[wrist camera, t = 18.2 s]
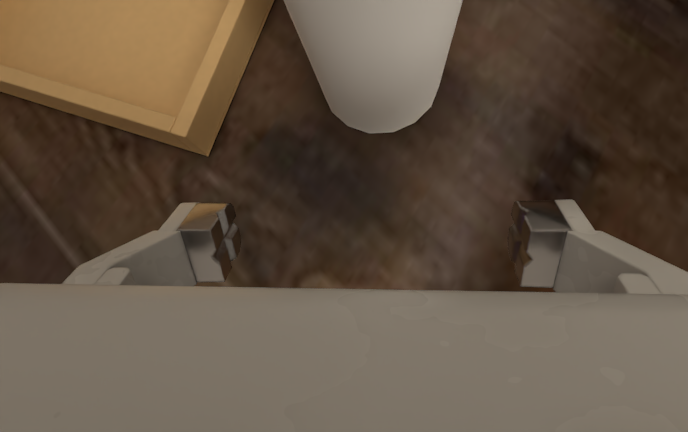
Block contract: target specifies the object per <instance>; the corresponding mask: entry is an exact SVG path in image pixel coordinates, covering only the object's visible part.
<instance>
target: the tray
mask: <svg viewBox="0 0 688 432" xmlns="http://www.w3.org/2000/svg"><path fill="white" fill-rule="evenodd" d="M273 2H274V0H0V92H3V93H6V94H10V95H13V96H16V97H19V98H22V99H26V100H29V101H32V102H35V103H38V104H42V105H45V106H48V107H51V108H54V109H58V110H61V111H64V112H67V113H70V114H74V115H77V116H80V117H83V118H86V119H90V120H93V121H96V122H99V123H102V124H106V125H109V126H112V127H115V128H118V129H121V130H125V131H128V132H131V133H134V134H137V135H141V136H144V137H147V138H150V139H153V140H157V141H160V142H163V143H166V144H169V145H173V146H176V147H179V148H182V149H185V150H189V151H192V152H195V153H198V154H201V155H205V156H209V153H210V151H211V149H212V146H213V144H214V142H215V139H216V137H217V135H218V132H219V130H220V127H221V125H222V123H223V120H224V118H225V116H226V113H227V111H228V109H229V106H230V104H231V102H232V99H233V97H234V94H235V92H236V90H237V87H238V85H239V83H240V80H241V78H242V76H243V73H244V71H245V68H246V66H247V64H248V61H249V59H250V57H251V54H252V52H253V50H254V47H255V45H256V42H257V40H258V38H259V35H260V33H261V31H262V28H263V26H264V24H265V21H266V19H267V17H268V14H269V12H270V9H271V7H272V5H273Z"/></svg>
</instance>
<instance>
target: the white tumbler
mask: <svg viewBox="0 0 688 432" xmlns="http://www.w3.org/2000/svg"><path fill="white" fill-rule="evenodd" d="M462 1H463V0H284V3H285V5H286V7H287V10H288V12H289V14H290V17H291V19H292V21H293V24H294V26H295V28H296V31H297V33H298V35H299V38H300V40H301V42H302V45H303V47H304V49H305V52H306V54H307V56H308V59H309V61H310V63H311V66H312V68H313V70H314V73H315V75H316V77H317V80H318V82H319V84H320V87H321V89H322V91H323V94H324V96H325V98H326V101H327V103H328V105H329V107H330V109H331V112H332V113H333V114H335V115H336V116H337V117H338V118H339V119H340V120H341V121H342V122H344V123H345V124H346V125H347V126H349V127H352V128H355V129H358V130H361V131H364V132H367V133H389V132H395V131H397V130H400V129H402V128H404V127H406V126H409V125H411V124H413V123H415V122H416V121H417V120H418V119H419V118H420V117H421V116H422V115H423V114H424V113H425V112H426V111H427V110H428V109H429V108H430V107H431V106H432V103H433V101H434V98H435V96H436V93H437V90H438V88H439V85H440V81H441V77H442V74H443V70H444V66H445V63H446V59H447V55H448V52H449V48H450V44H451V41H452V37H453V34H454V30H455V26H456V23H457V19H458V15H459V12H460V8H461V4H462Z"/></svg>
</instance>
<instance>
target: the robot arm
mask: <svg viewBox="0 0 688 432" xmlns="http://www.w3.org/2000/svg"><path fill="white" fill-rule="evenodd" d="M511 216H512V218H513V221H514V224H513V225H512V226H511V227H510V228H509V231H508V252H509V256H510V259H511V261H513V262H514V263H516V265H515V273H516V276H517V279H518V281H519V284H520V287H543V288H553V289H554V290H555V291H556V292H506V291H446V290H386V289H327V288H268V287H209V286H194V285H196V284H197V282H225V280H226V278H227V276H228V274H229V272H230V270H231V268H232V266H231V261H233V260H234V259H236V258H237V256H238V254H239V252H240V246H241V235H240V231H239V228H238V227H237V226H236V225H235V224H234V223H233V220H234V219H235V217H236V214H235V210H234V206H233V205H232V204H231V203H198V202H194V203H181V204H180V205H179V206H178V207H177V208H176V210H175V211H174V212H173V213H172V214H171V216H170V217H169V218H168V219H167V220H166V222H165V223H164V224H163V225H162V227H161V228H160V229H159V230H158V231H151V232H149V233H147V234H145V235H143V236H141V237H139V238H137V239H135V240H132V241H130V242H128V243H126V244H124V245H122V246H120V247H118V248H116V249H113V250H111V251H109V252H107V253H105V254H103V255H101V256H99V257H96V258H94V259H92V260H90V261H88V262H86V263H84V264H82V265H80V266H78V267H77V268H76V269H75V270H74V271H73V272H72V273H71V274H70V275H69V276H68V277H67V278H66V280H65V281H64V282H63V283H62V284H31V283H0V432H688V272H686V271H684V270H682V269H680V268H678V267H676V266H674V265H672V264H669V263H667V262H665V261H663V260H661V259H659V258H657V257H655V256H653V255H651V254H648V253H646V252H644V251H642V250H640V249H638V248H636V247H634V246H632V245H630V244H628V243H625V242H623V241H621V240H619V239H617V238H615V237H613V236H611V235H609V234H607V233H605V232H602V231H595V230H594V228H593V227H592V225H591V224H590V222H589V221H588V220H587V218H586V217H585V215H584V214H583V212H582V211H581V210H580V208H579V207H578V205H577V204H576V202H575V201H574V200H571V199H568V200H538V201H515V202H514V204H513V207H512V212H511Z"/></svg>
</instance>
